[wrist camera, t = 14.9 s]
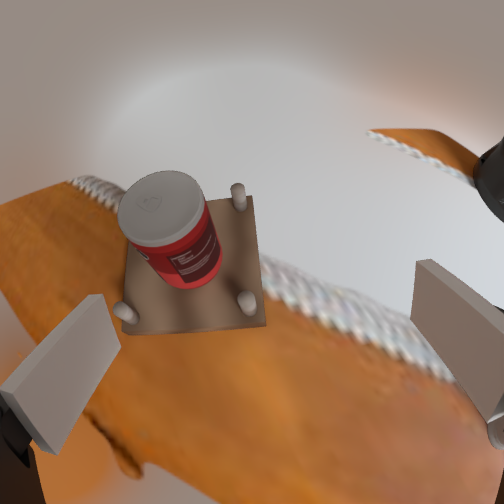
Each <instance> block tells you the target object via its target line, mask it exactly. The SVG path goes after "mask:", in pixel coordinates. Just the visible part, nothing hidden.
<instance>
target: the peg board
mask: <svg viewBox="0 0 504 504" xmlns="http://www.w3.org/2000/svg"><path fill="white" fill-rule="evenodd" d="M230 190H231V194H232V198H226V199H218V200H211V201H206V203H207V206H208V209H209V212H210V215H211V218H212V221H213V224H214V227H215V230H216V232H217V235H218V238H219V241H220V244H221V247H222V253H223V256H222V263H221V266H220V269H219V271H218V273H217V274H216V276H215V277H214V278H213V279H212V280H211V281H210V282H208V283H207V284H205V285H203V286H201V287H198V288H195V289H181V288H177V287H173V286H171V285H169V284H167V283H166V282H165V281H164V280H163V279H162V278H161V277H160V276H159V275H158V274H157V273H156V272H155V270H154V269H153V268H152V267H151V266H150V265H149V264H148V262H147V261H146V260H145V259H144V258H143V257H142V256H141V254H140V253H139V252H138V251H137V250H136V249H135V247H134V246H133V245H132V244H131V242H130V241H129V244H128V253H127V262H126V272H125V283H124V296H123V302H122V301H119V302H117V303H115V304H114V306H113V313H114V314H115V315H116V316H117V317H119V318H121V319H122V332H124V333H126V334H128V335H155V334H176V333H193V332H208V331H221V330H232V329H243V328H254V327H263V326H266V320H265V310H264V301H263V291H262V282H261V272H260V263H259V253H258V244H257V235H256V225H255V216H254V207H253V199H252V196H246V194H245V188H244V185H243V184H241V183H236V184H234V185H232V186H231V189H230Z"/></svg>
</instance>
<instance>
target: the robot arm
mask: <svg viewBox="0 0 504 504" xmlns="http://www.w3.org/2000/svg"><path fill="white" fill-rule="evenodd" d="M473 177H474V182H475V185H476V188H477V190H478V192H479V194H480V196H481V198H482V199H483V201H484V202H485V203H486V205H487V206H488V208H489V209H490V210H491V211H492V212H493V213H494V215H496V217H498V218H499V219H500V220H501V221H502V222H504V137H503V139H502V140H501V141H500V142H499V143H498V144H496V145H495V146H494V147H492V148H491V149H490V150H488V151H487V152H485V153H484V154H483V155H482V156H481V157H480V158H479V160H478V161H477V163H476V165H475V167H474V170H473ZM410 320H411V321H412V322H413V323H414V324H415V326H416V327H417V328H418V329H419V331H420V332H421V333H422V334H423V336H424V337H425V338H426V340H427V341H428V342H429V343H430V345H431V346H432V347H433V349H434V350H435V351H436V352H437V354H438V355H439V356H440V358H441V359H442V360H443V362H444V363H445V364H446V366H447V367H448V368H449V370H450V371H451V372H452V374H453V375H454V377H455V378H456V379H457V381H458V382H459V383H460V385H461V386H462V388H463V389H464V390H465V392H466V393H467V395H468V396H469V398H470V399H471V400H472V402H473V403H474V405H475V406H476V408H477V409H478V411H479V412H480V414H481V415H482V417H483V418H484V420H485V421H486V423H489V422H491V421H493V420H495V419H497V418H499V417H501V416H503V415H504V310H503V309H501V308H499V307H496V306H494V305H492V304H491V303H490V302H488V301H487V300H486V299H484V298H483V297H482V296H481V295H480V294H478V293H477V292H475V291H474V290H473V289H471V288H470V287H469V286H468V285H466V284H465V283H464V282H462V281H461V280H460V279H458V278H457V277H456V276H454V275H453V274H451V273H450V272H449V271H447V270H446V269H445V268H443V267H442V266H440V265H439V264H438V263H436V262H435V261H433V260H432V259H427V260H420V261H416V271H415V282H414V292H413V301H412V310H411V317H410ZM120 349H121V345H120V343H119V340H118V337H117V335H116V332H115V329H114V326H113V323H112V321H111V318H110V315H109V312H108V309H107V306H106V303H105V299H104V296H103V294H95V295H88V296H87V297H86V298H85V299H84V300H83V301H82V302H81V303H80V304H79V305H78V306H77V307H76V308H75V309H74V310H73V311H72V312H71V313H70V314H69V315H68V316H67V317H65V318H64V319H63V320H62V321H61V322H60V323H59V324H58V325H57V326H56V327H55V328H54V329H53V330H52V331H51V332H50V333H49V335H48V336H47V337H46V338H45V339H44V340H43V341H42V342H41V343H40V344H39V345H38V346H37V347H36V348H35V349H34V350H33V351H32V352H31V353H30V354H29V355H28V356H27V358H26V359H25V360H24V361H23V362H22V363H21V364H20V365H19V366H18V367H17V368H16V370H15V371H14V372H13V373H12V374H11V375H10V376H9V377H8V379H7V380H6V381H5V382H4V383H3V384H2V385H1V387H0V504H46V503H45V499H44V495H43V491H42V488H41V483H40V479H39V475H38V470H37V465H36V460H35V455H34V451H33V449H32V448H31V446H30V445H29V444H30V442H31V441H32V439H33V440H34V441H35V443H36V444H37V445H38V446H39V448H40V449H41V450H42V451H45V452H48V453H51V454H54V455H58V453H59V452H60V450H61V448H62V446H63V444H64V442H65V441H66V439H67V437H68V435H69V433H70V432H71V430H72V428H73V427H74V425H75V423H76V421H77V419H78V418H79V416H80V414H81V413H82V411H83V409H84V407H85V406H86V404H87V402H88V401H89V399H90V397H91V396H92V394H93V392H94V391H95V389H96V387H97V386H98V384H99V382H100V381H101V379H102V377H103V376H104V374H105V372H106V371H107V369H108V368H109V366H110V364H111V363H112V361H113V360H114V358H115V356H116V355H117V353H118V352H119V350H120ZM503 432H504V430H503ZM495 504H504V470H503V474H502V479H501V483H500V487H499V490H498V494H497V497H496V501H495Z"/></svg>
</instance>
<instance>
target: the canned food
mask: <svg viewBox="0 0 504 504" xmlns="http://www.w3.org/2000/svg"><path fill="white" fill-rule="evenodd" d="M117 217H118V223H119V226H120V228H121V230H122V232H123V233H124V235H125V236H126V237H127V239H128V240H129V241H130V242H131V244H132V245H133V246H134V247H135V249H136V250H137V251H138V252H139V253H140V254H141V256H142V257H143V258H144V259H145V260H146V261H147V262H148V264H149V265H150V266H151V267H152V268H153V269H154V270H155V272H156V273H157V274H158V275H159V276H160V277H161V278H162V279H163V280H164V281H165V282H166V283H167V284H169V285H171V286H173V287H177V288H181V289H195V288H198V287H201V286H203V285H205V284H207V283H208V282H210V281H211V280H212V279H213V278H214V277H215V276H216V274H217V273H218V271H219V269H220V266H221V263H222V256H223V253H222V247H221V244H220V241H219V238H218V235H217V232H216V230H215V227H214V224H213V221H212V218H211V215H210V212H209V209H208V206H207V203H206V201H205V197H204V195H203V192H202V190H201V188H200V186H199V185H198V183H197V182H196V180H194V179H193V178H192V177H191V176H189V175H187V174H185V173H182V172H178V171H161V172H156V173H153V174H150V175H148V176H146V177H144V178H142V179H140V180H139V181H137V182H136V183H135V184H134V185H132V186H131V187H130V188H129V189H128V190H127V192H126V193H125V194H124V196H123V198H122V200H121V202H120V204H119V207H118V214H117Z"/></svg>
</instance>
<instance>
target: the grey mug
mask: <svg viewBox="0 0 504 504" xmlns="http://www.w3.org/2000/svg"><path fill="white" fill-rule="evenodd" d="M503 430H504V415H503V416H501V417H499V418H497V419H495V420H493V421H491V422H489V423H488V437H489V440H490V442H491V444H492V445H493V447H495V448H496V449H499V450H504V432H503Z"/></svg>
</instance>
